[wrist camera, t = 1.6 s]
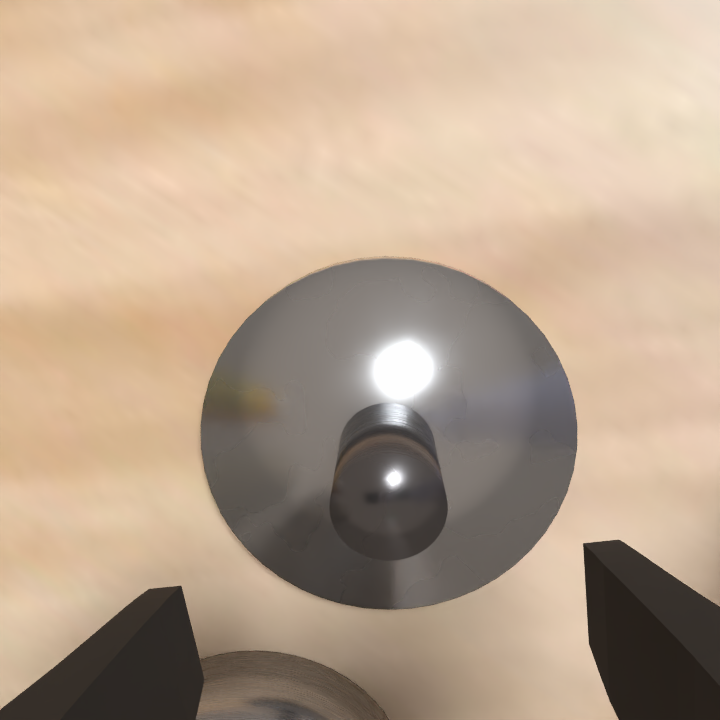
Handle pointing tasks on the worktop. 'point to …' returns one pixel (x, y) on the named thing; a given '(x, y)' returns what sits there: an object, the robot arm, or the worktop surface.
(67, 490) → the worktop surface
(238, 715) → the pot
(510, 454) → the lid
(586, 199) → the worktop surface
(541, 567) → the worktop surface
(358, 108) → the worktop surface
